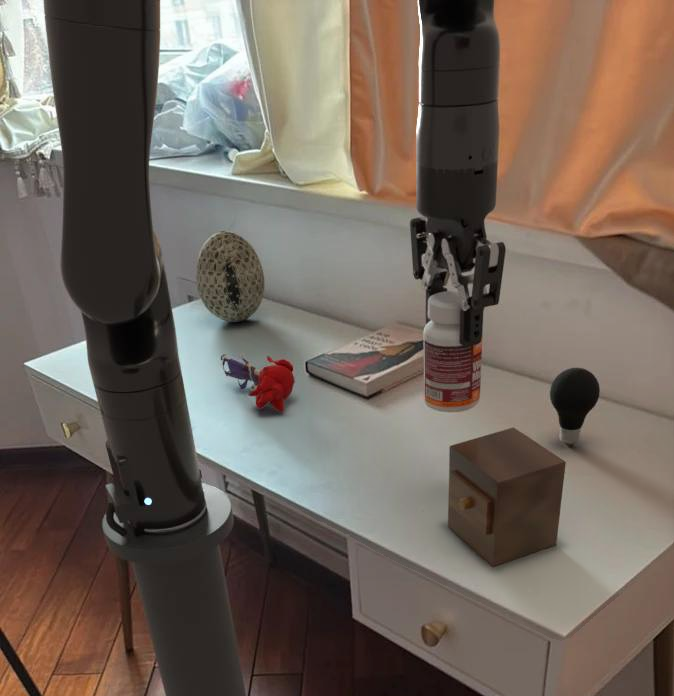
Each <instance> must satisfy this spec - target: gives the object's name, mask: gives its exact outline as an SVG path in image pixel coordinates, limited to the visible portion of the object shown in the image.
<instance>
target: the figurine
mask: <svg viewBox="0 0 674 696" xmlns="http://www.w3.org/2000/svg"><path fill="white" fill-rule="evenodd" d="M238 357H239V358H240V359H241V360H242V361H243V362H244V363H243V362H241V361H239V360H237V359H234V358H232V357H230V358H228V355H227V354H222V355H221V356H220V360H221V361H222V369H223V372H224V374H225V377H230V378H234V379H237V383H238V386H239V387H240V390H243V391H244V390H245V389H246V388H247V385H248V382H249V381H250V382H252V383H253V384H251V386H250V387H249V390H250V391H251V392H249V393H248V394H247V396H249V397H256V398H255V406H256V408H258V409H260V410H261V409H264V408H265V406H267V405H268V404H269V403H270V405H271V406H272V408H273V409H275V410H276V411H278V412H282V413H283V412H285V408H284V406H285V401H286V400H287V399H288V398H289V396H290V395H291V394H292V392H293V389H294V386H295V383H296V380H295V375H294V374H293V371H294V365H293V364H292V363H291V362H290V361H289V360H286V359H284V358H280V359H278V360H274V359H272V357H271V356H269V355H268V354H267V355H266V360H267V361H268V362H269V363H273V364H269V365H264V366H263V367H262V368H261V369H258V368H257V367H255V366H254V365H252V364H250V362H249V361H248V360H246V359H245V358H244V356H243V355H242V354H239V356H238ZM225 363H227V367H228V371H227V370H226V369H225V365H226V364H225ZM240 380H241V381H242V380H243V381H244V382H243V383H240Z"/></svg>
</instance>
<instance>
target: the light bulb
mask: <svg viewBox="0 0 674 696" xmlns="http://www.w3.org/2000/svg"><path fill="white" fill-rule="evenodd" d="M549 389H550V390H549V399H550V402H551V405H552V407H553V409H555V411H556V413H557V419H558V424H559V427H560V428H559V437H558V439H559V441H560V442H562V443H563V444H564V445H565V446H572V445H573V444H576V443H577V442H579V440H580V436H581V430H582V427H583V425H584V423H585V420H586V418H587V415H588V414H589V413H590V412H591V411H592V410H593V409H594V408H595V406H596V405H597V403H598V401H599V399H600V392H601V391H600V389H601V388H600V384H599V381H598V378H597V377H596V375H594V374H593V373H592V372H591V371H589V370H588V369H585V368H583V367H570V368H567V369H565V370H563V371H561V372H560V373H559V374H557V376H556V377H555V378H554V379H553V380H552V383H551V385H550V388H549Z"/></svg>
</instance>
